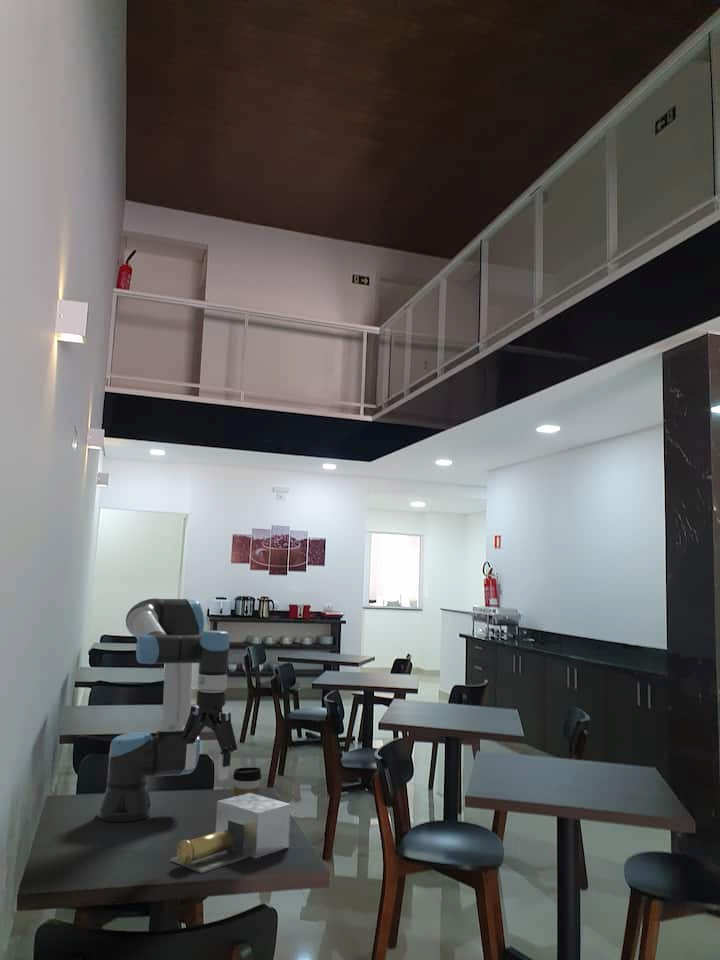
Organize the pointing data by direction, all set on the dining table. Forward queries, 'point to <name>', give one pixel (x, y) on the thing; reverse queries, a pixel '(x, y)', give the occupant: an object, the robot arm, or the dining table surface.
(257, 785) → the coffee cup
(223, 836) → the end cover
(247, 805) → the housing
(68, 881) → the dining table surface
